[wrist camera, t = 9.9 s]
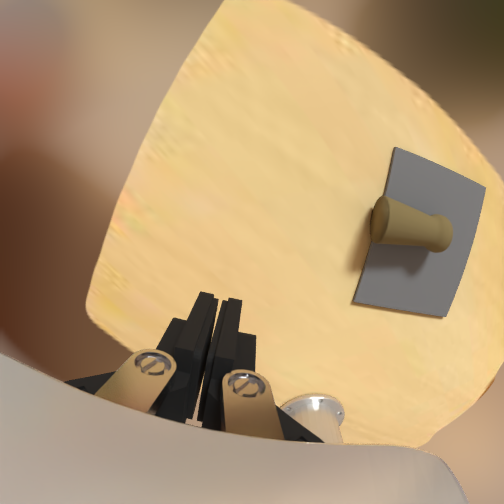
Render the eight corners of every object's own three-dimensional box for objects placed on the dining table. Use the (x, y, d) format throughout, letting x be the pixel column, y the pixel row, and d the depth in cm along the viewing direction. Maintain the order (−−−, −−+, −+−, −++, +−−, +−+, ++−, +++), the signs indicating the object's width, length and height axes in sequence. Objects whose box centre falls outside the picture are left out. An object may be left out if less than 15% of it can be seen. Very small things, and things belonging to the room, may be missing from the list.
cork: (366, 241, 37) (431, 255, 37) (384, 245, 31) (454, 260, 31) (374, 196, 37) (438, 214, 37) (393, 193, 31) (462, 214, 31)
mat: (444, 315, 41) (445, 317, 40) (352, 300, 40) (353, 301, 40) (483, 187, 35) (485, 187, 34) (394, 147, 34) (395, 146, 34)
